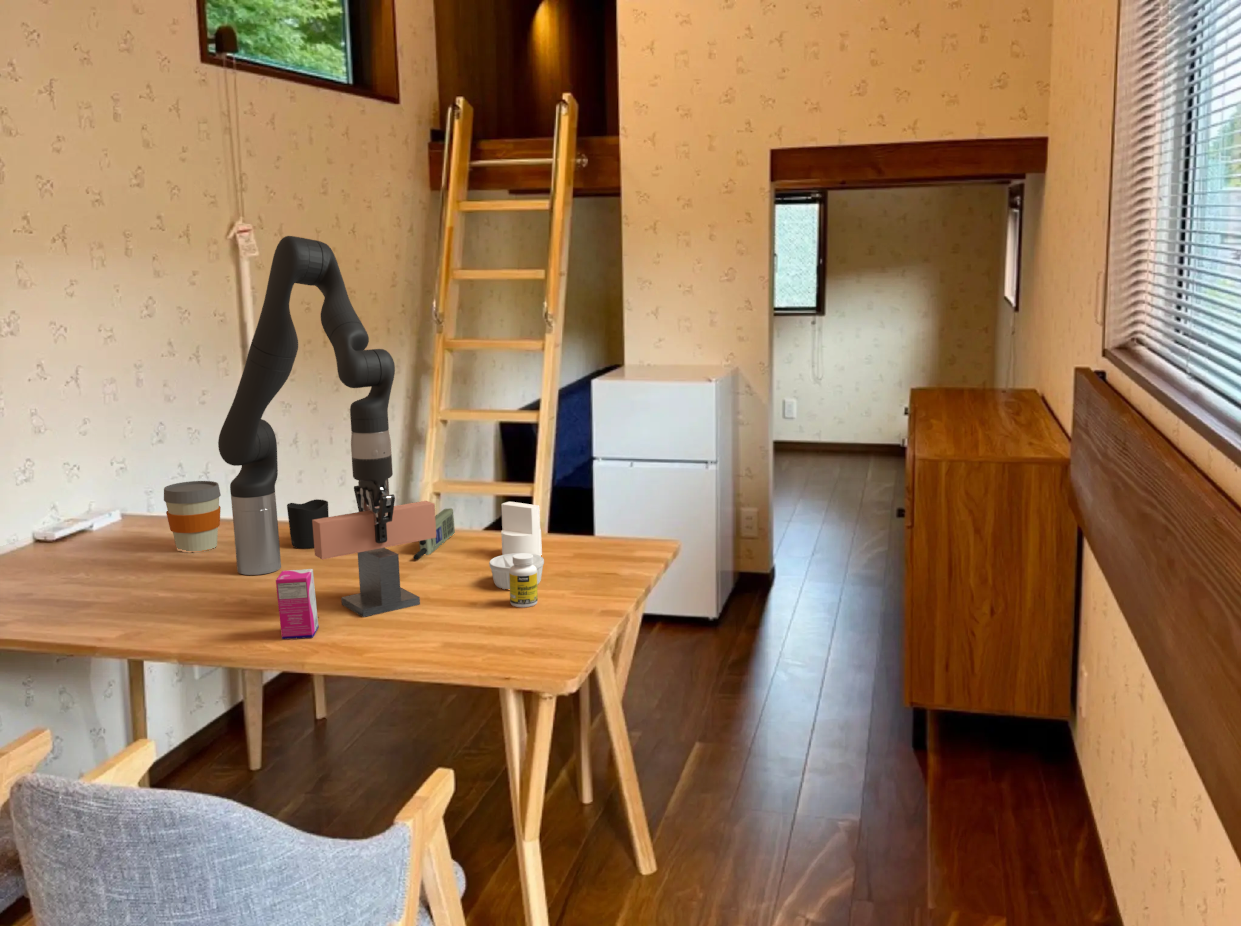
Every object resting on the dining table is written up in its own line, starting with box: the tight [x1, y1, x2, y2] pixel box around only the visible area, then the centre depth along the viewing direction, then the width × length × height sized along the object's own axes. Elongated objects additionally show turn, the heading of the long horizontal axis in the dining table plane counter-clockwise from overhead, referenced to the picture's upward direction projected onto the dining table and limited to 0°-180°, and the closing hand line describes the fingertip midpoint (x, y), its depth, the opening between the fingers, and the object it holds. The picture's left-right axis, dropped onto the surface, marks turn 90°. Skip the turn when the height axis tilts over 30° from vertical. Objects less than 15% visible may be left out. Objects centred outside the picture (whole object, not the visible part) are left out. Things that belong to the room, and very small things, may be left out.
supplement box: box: [275, 568, 319, 640], centre depth 201 cm, size 6×6×12 cm
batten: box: [312, 500, 436, 560], centre depth 214 cm, size 4×24×7 cm, turn 128°
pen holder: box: [286, 499, 330, 550], centre depth 262 cm, size 9×9×10 cm
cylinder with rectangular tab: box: [500, 501, 543, 556], centre depth 249 cm, size 9×9×12 cm
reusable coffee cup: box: [163, 480, 222, 551], centre depth 260 cm, size 13×13×15 cm
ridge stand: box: [340, 547, 421, 618], centre depth 216 cm, size 10×12×11 cm
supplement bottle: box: [509, 553, 538, 608], centre depth 216 cm, size 5×5×10 cm
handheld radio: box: [412, 508, 456, 561], centre depth 258 cm, size 7×3×25 cm
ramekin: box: [488, 553, 545, 590], centre depth 229 cm, size 11×11×5 cm
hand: (376, 539), depth 215 cm, fingers closed on batten, 3 cm apart
